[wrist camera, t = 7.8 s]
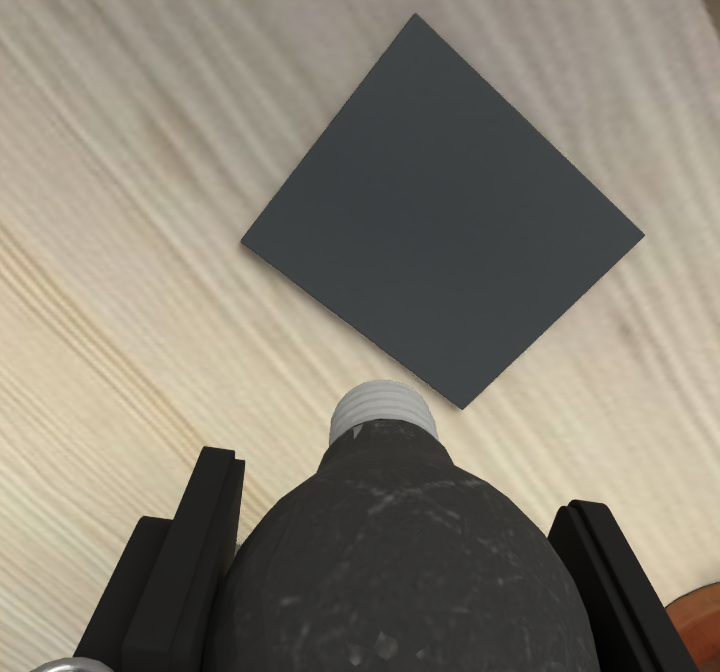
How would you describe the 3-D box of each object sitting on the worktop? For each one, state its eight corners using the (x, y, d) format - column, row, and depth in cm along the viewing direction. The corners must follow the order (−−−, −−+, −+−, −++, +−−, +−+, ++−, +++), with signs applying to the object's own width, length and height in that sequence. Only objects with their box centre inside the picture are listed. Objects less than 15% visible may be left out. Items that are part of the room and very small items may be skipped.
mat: (242, 238, 28) (240, 241, 28) (414, 13, 24) (415, 12, 24) (461, 405, 32) (462, 410, 31) (641, 232, 28) (645, 235, 27)
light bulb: (226, 375, 15) (21, 858, 6) (422, 259, 14) (544, 645, 5) (347, 524, 17) (334, 1059, 8) (529, 435, 16) (760, 946, 7)
